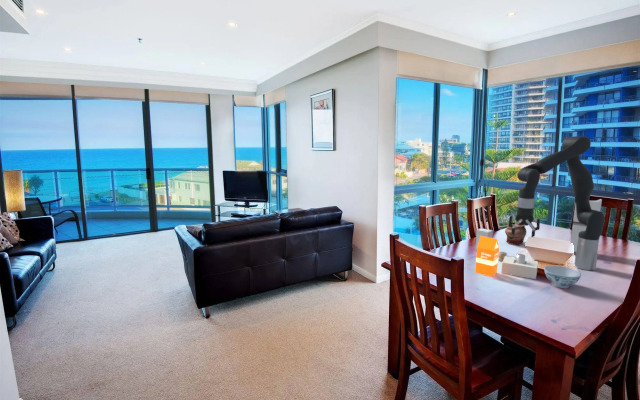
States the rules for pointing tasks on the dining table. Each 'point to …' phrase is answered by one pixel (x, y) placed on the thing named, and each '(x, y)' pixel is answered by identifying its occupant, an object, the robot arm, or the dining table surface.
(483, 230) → the skincare box
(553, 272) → the chinaware
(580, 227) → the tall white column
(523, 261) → the long pin
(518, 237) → the decorative planter
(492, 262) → the orange juice
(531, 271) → the hole block
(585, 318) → the dining table surface
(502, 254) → the short pin
